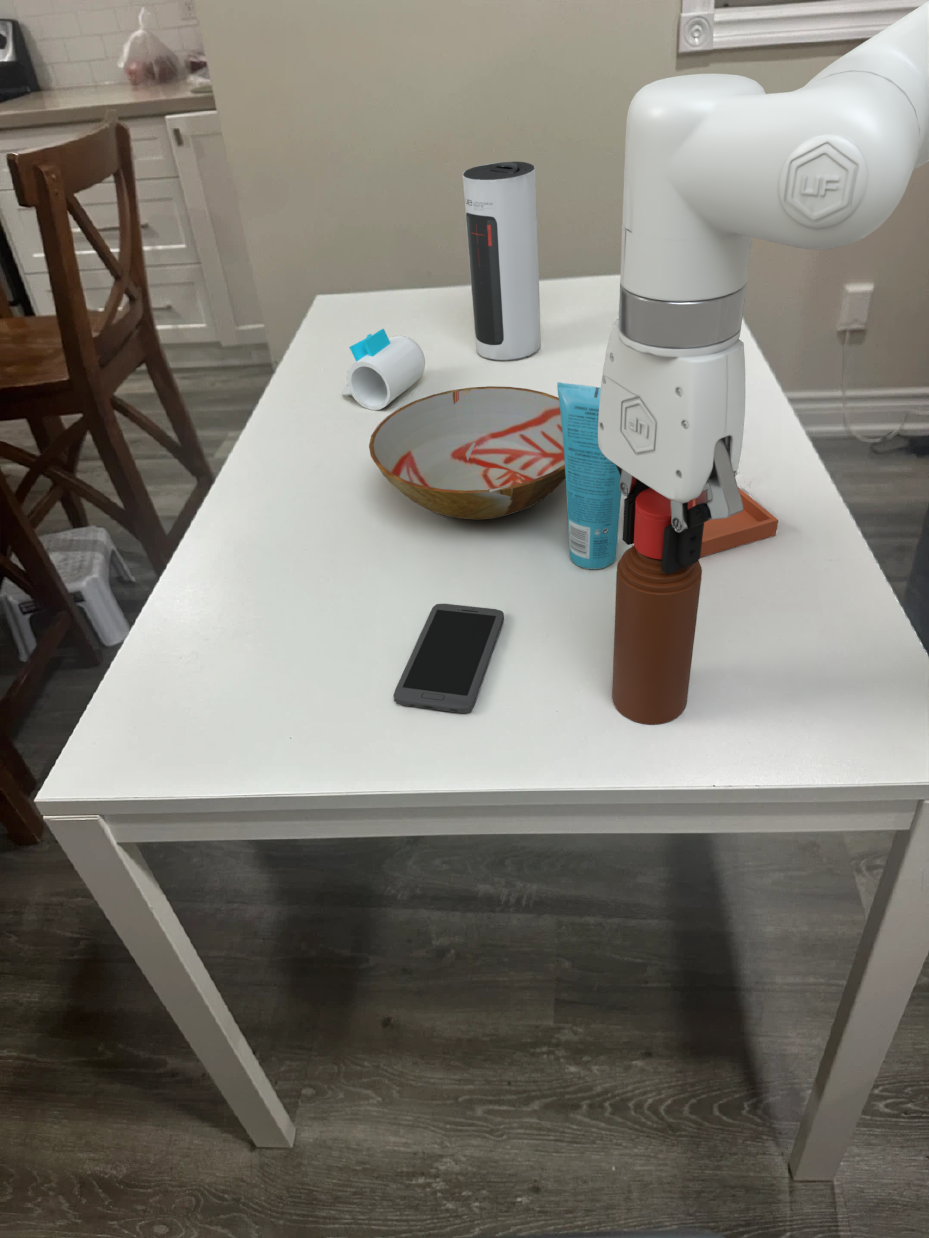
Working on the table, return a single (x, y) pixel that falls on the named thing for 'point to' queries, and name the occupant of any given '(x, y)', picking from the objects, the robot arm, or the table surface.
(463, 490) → the bowl
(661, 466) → the robot arm
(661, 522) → the cap
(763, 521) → the tray
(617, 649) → the bottle
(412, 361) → the mug
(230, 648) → the table surface
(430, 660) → the cell phone
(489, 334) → the speaker
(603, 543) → the tube
